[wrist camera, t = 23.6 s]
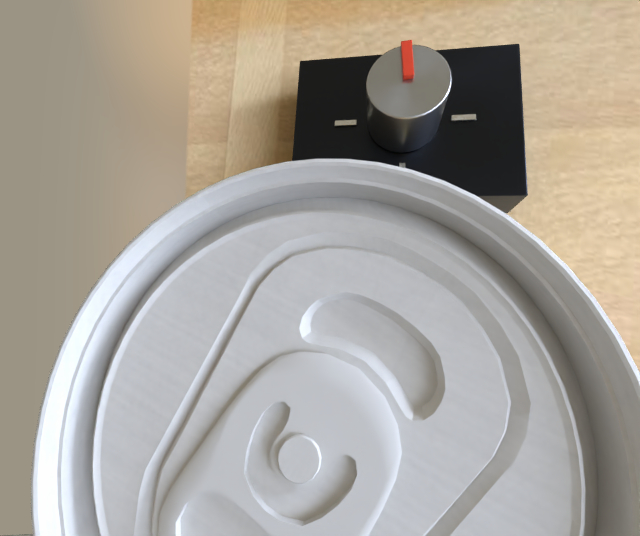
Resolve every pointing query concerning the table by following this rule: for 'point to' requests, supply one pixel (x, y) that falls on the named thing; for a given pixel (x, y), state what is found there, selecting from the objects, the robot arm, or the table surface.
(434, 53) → the knob
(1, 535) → the robot arm
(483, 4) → the table surface
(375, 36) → the table surface
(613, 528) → the beer can
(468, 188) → the panel
